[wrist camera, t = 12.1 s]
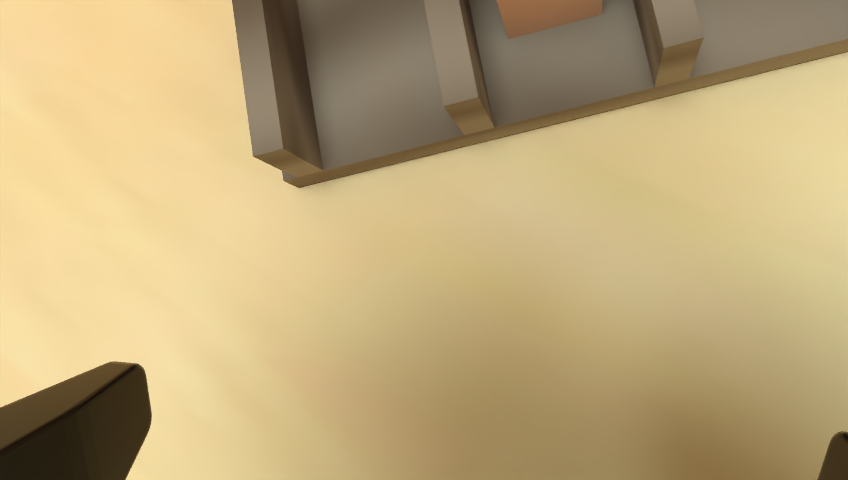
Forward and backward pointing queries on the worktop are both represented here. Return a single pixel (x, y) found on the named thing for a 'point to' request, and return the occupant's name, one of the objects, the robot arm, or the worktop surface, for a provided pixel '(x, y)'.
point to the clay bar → (544, 14)
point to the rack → (487, 69)
